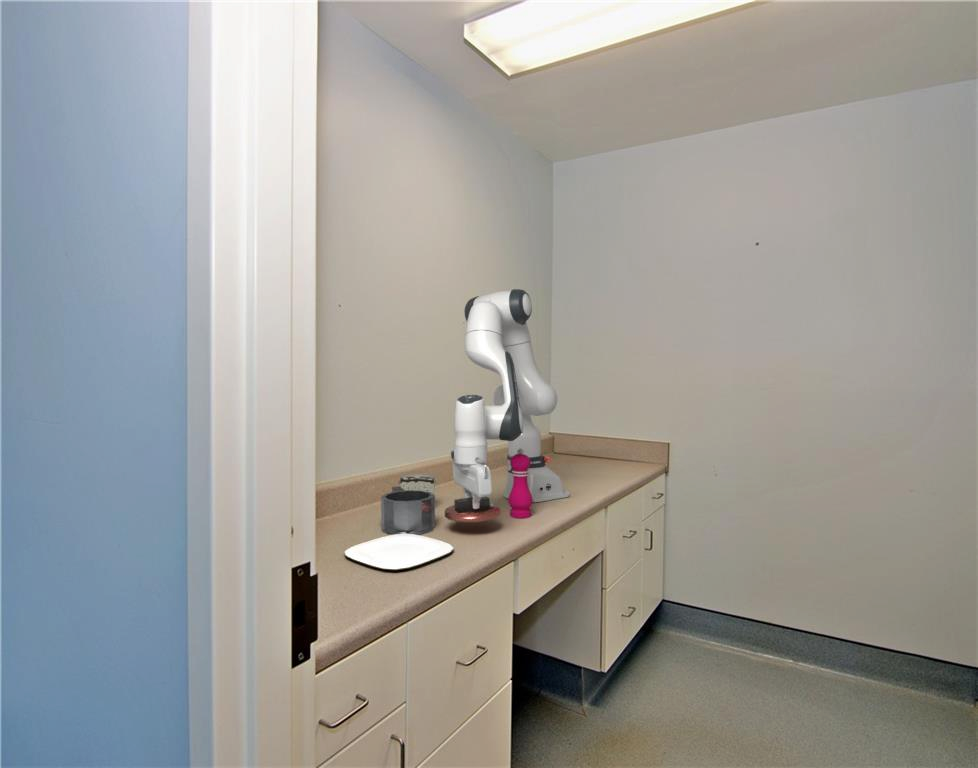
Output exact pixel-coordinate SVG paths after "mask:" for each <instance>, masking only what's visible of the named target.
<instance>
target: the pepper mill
mask: <svg viewBox="0 0 978 768" xmlns="http://www.w3.org/2000/svg"><path fill="white" fill-rule="evenodd" d="M517 453H518V454H516V455H514V456H513V457H512V458H511V461H510V465H511V467H512V468H513V470H512V475H513V478H514V482H513V487H512V490H511V492H510V495H509V499H508V498H507V499H508V500H507V501H508V505H509V507H510V509H509V516H510V517H511V518H514V519H527V518H528V519H529V518H530V517H531V516H532V510H531V507H532V506H533V503H534V502H533V500H532V495H531V493H530V490H529V488H528V484H527V476H528V475H529V474H528V472H529V471H528V468H529V467H530V459H529V457H528V456H527V455H524V454H523V450H522V449H518V451H517Z"/></svg>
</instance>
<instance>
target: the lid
mask: <svg viewBox="0 0 978 768" xmlns="http://www.w3.org/2000/svg"><path fill="white" fill-rule="evenodd" d="M471 501H473V496H472V497H471V498H465V497H464V498H457V499H456V498H455V499H454V505H450V506H448V507H446V508H445V509H444V517H445V518H446V519H447V520H451V521H453V522H461V523H479V522H487V521H491V520H494V519H497V518H499V516H500V515H501V509H500V508H501V507H499V506H498V505H496V504H494V503H493V502H491V498H490V497H489V496H486V497H481V499H480V502H479V503H480V507H479V508H478V509H474V508H472V507H471V505H472V504H471Z"/></svg>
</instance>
